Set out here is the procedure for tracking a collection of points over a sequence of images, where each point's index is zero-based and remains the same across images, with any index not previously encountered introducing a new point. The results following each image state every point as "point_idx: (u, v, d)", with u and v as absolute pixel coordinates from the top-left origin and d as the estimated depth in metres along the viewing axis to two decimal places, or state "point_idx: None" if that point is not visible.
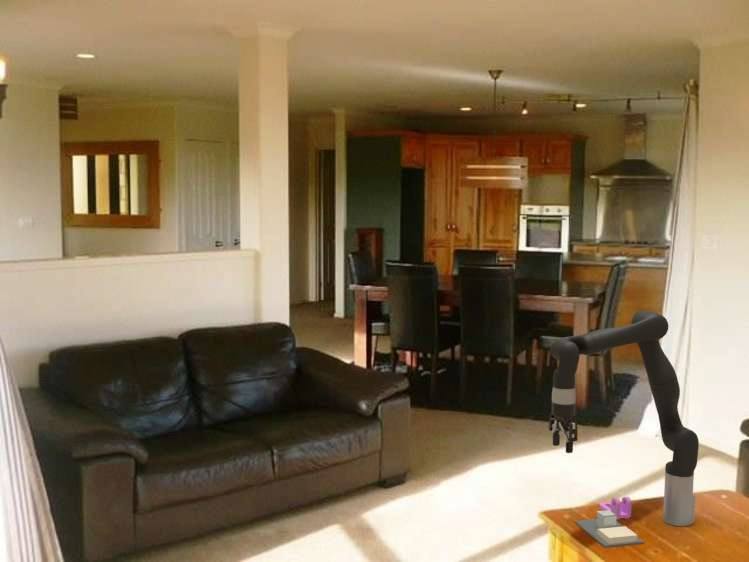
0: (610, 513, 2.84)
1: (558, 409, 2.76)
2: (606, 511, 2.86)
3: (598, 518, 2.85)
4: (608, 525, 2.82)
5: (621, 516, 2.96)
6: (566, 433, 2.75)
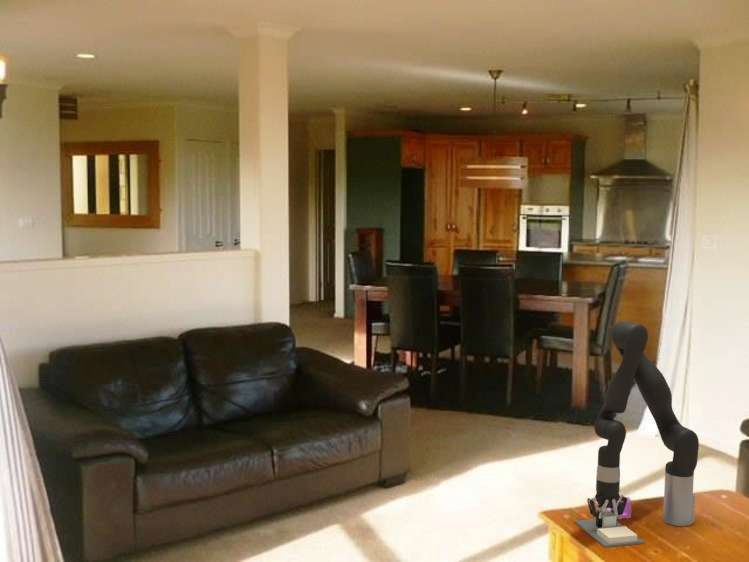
0: (610, 513, 2.84)
1: (618, 486, 2.81)
2: (606, 511, 2.86)
3: None
4: (608, 525, 2.82)
5: (621, 516, 2.95)
6: None
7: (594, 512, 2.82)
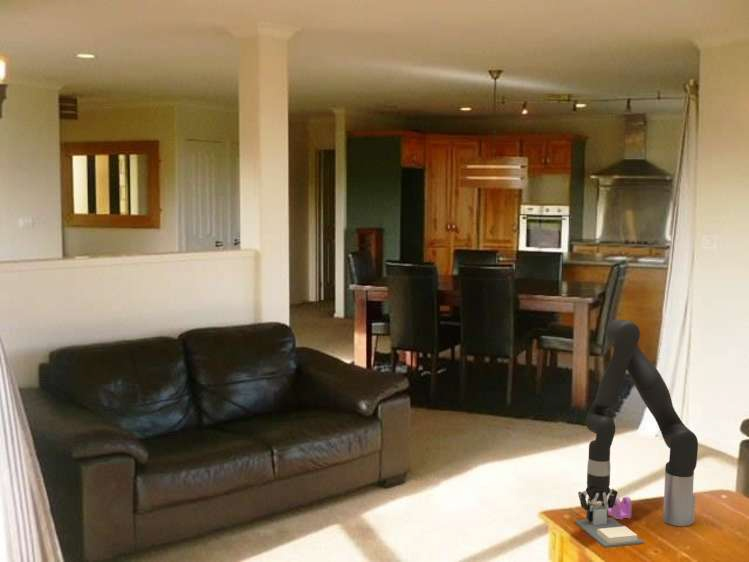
0: (601, 506, 2.91)
1: (608, 479, 2.87)
2: (597, 504, 2.93)
3: None
4: (599, 518, 2.88)
5: (621, 516, 2.95)
6: None
7: (585, 505, 2.88)
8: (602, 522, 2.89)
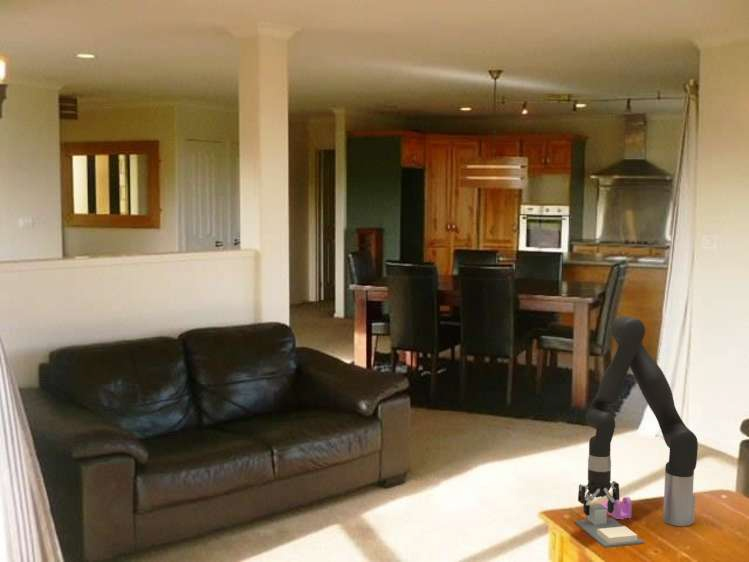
0: (601, 506, 2.91)
1: (609, 475, 2.87)
2: (597, 504, 2.93)
3: None
4: (598, 518, 2.88)
5: (621, 516, 2.95)
6: (610, 495, 2.90)
7: (582, 499, 2.87)
8: (602, 522, 2.89)
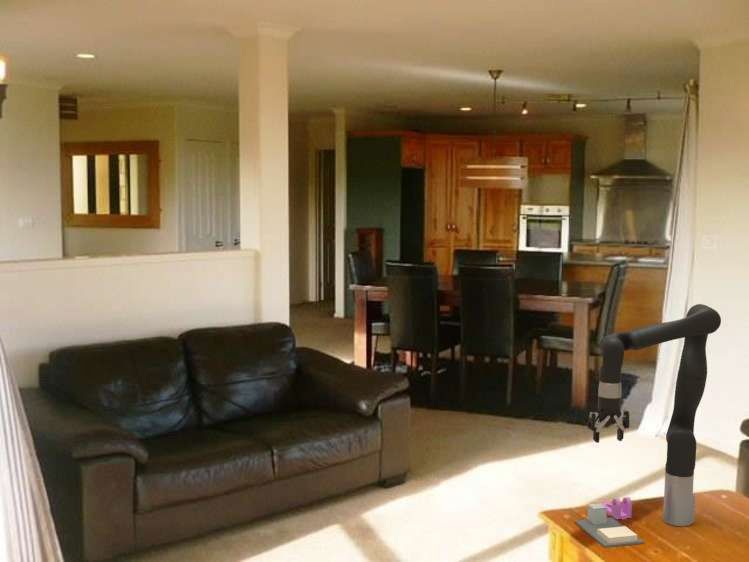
0: (601, 506, 2.91)
1: (620, 402, 2.87)
2: (597, 504, 2.93)
3: (589, 511, 2.92)
4: (598, 518, 2.88)
5: (621, 517, 2.95)
6: (620, 423, 2.90)
7: (592, 425, 2.87)
8: (602, 522, 2.89)
